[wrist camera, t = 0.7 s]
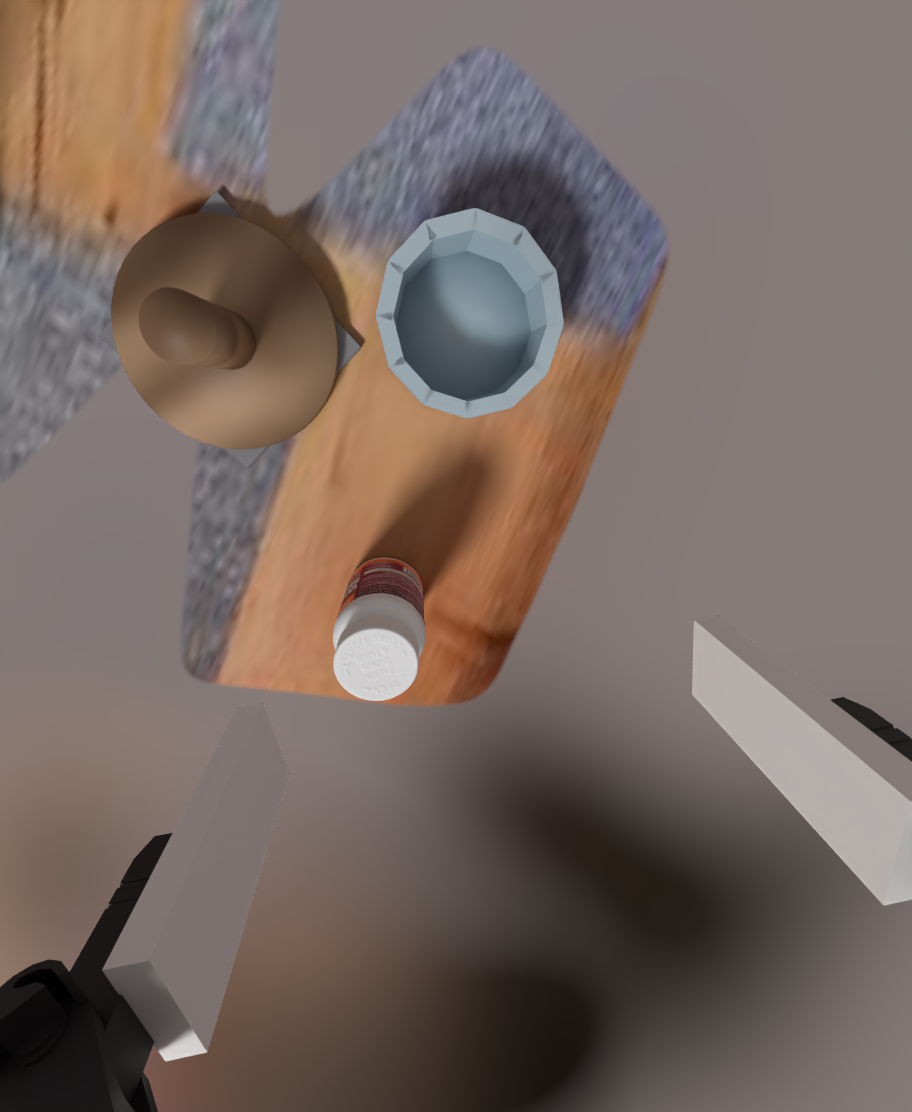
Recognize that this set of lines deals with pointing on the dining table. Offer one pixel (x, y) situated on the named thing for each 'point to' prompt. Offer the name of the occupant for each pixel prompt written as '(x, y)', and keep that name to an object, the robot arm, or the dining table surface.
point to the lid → (224, 331)
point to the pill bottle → (380, 630)
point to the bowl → (470, 313)
